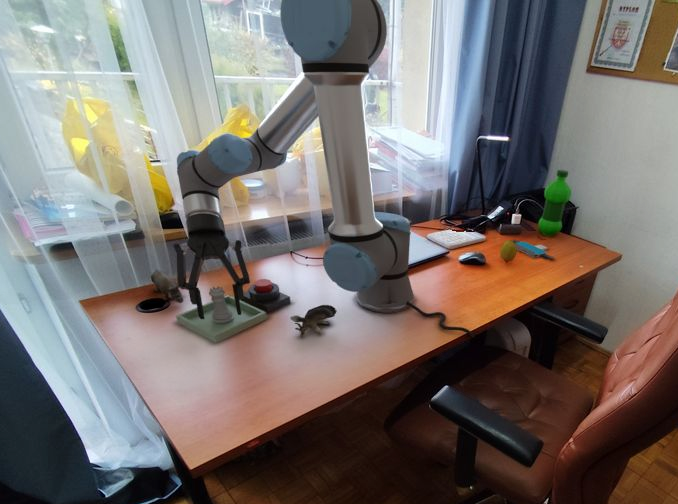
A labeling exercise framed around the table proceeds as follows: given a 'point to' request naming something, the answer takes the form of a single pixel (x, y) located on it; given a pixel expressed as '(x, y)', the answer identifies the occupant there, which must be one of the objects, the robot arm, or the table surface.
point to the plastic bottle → (554, 204)
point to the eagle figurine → (314, 318)
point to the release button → (263, 285)
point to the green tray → (221, 331)
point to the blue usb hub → (532, 250)
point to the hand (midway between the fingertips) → (220, 315)
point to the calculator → (455, 238)
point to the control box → (266, 299)
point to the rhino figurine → (166, 285)
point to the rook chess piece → (220, 306)
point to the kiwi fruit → (508, 251)
